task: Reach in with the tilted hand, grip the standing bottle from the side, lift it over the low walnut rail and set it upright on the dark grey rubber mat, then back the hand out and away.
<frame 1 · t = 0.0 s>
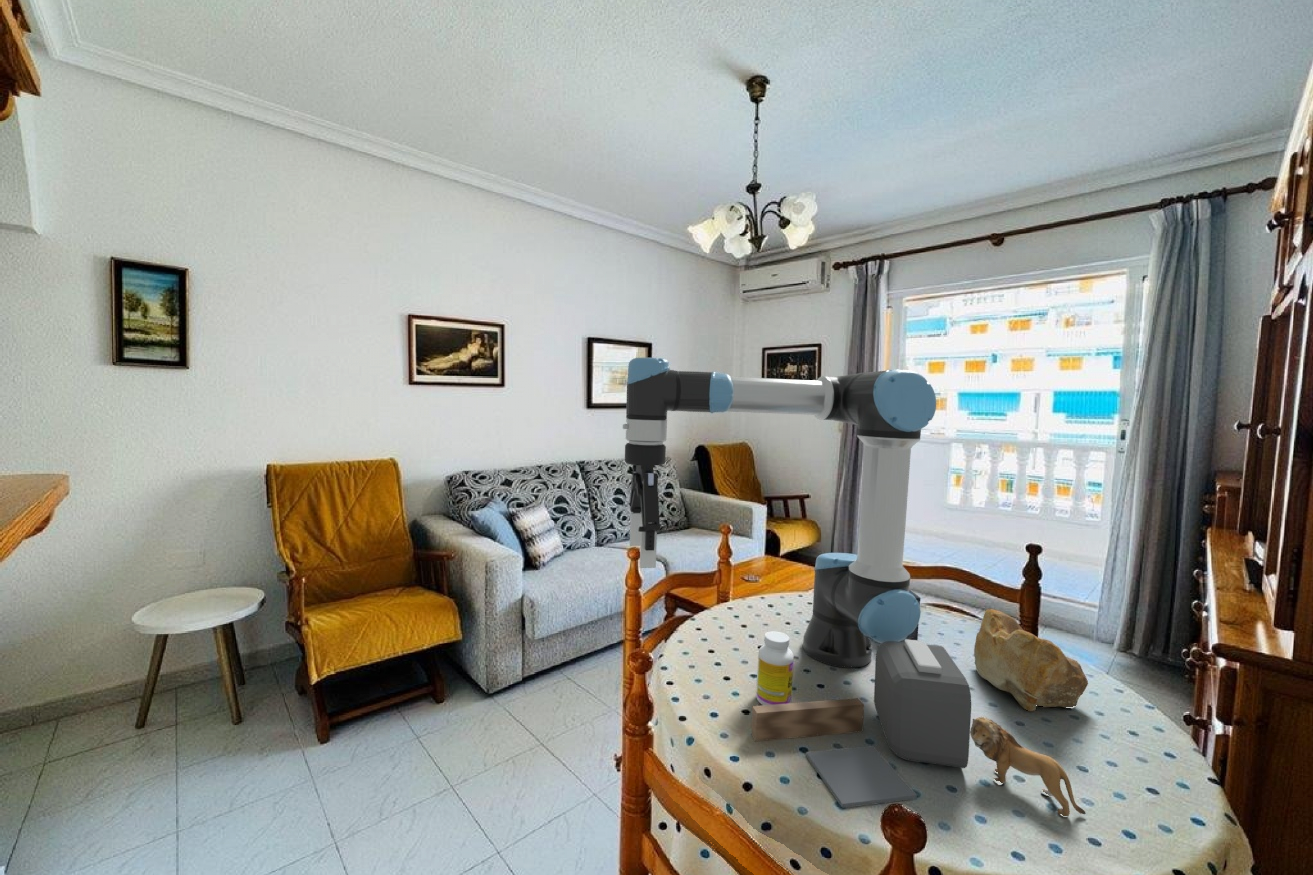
hand: (641, 555, 97), 28 cm above the table, tool pointing down, fingers open, 13 cm apart
small box: (891, 633, 133), on the table
alarm clock: (913, 739, 90), on the table
walnut rail: (807, 732, 91), on the table
rough brown rock: (1032, 696, 105), on the table
rubber mat: (858, 775, 81), on the table
supplement bottle: (773, 701, 100), on the table
lion figurine: (1018, 791, 79), on the table
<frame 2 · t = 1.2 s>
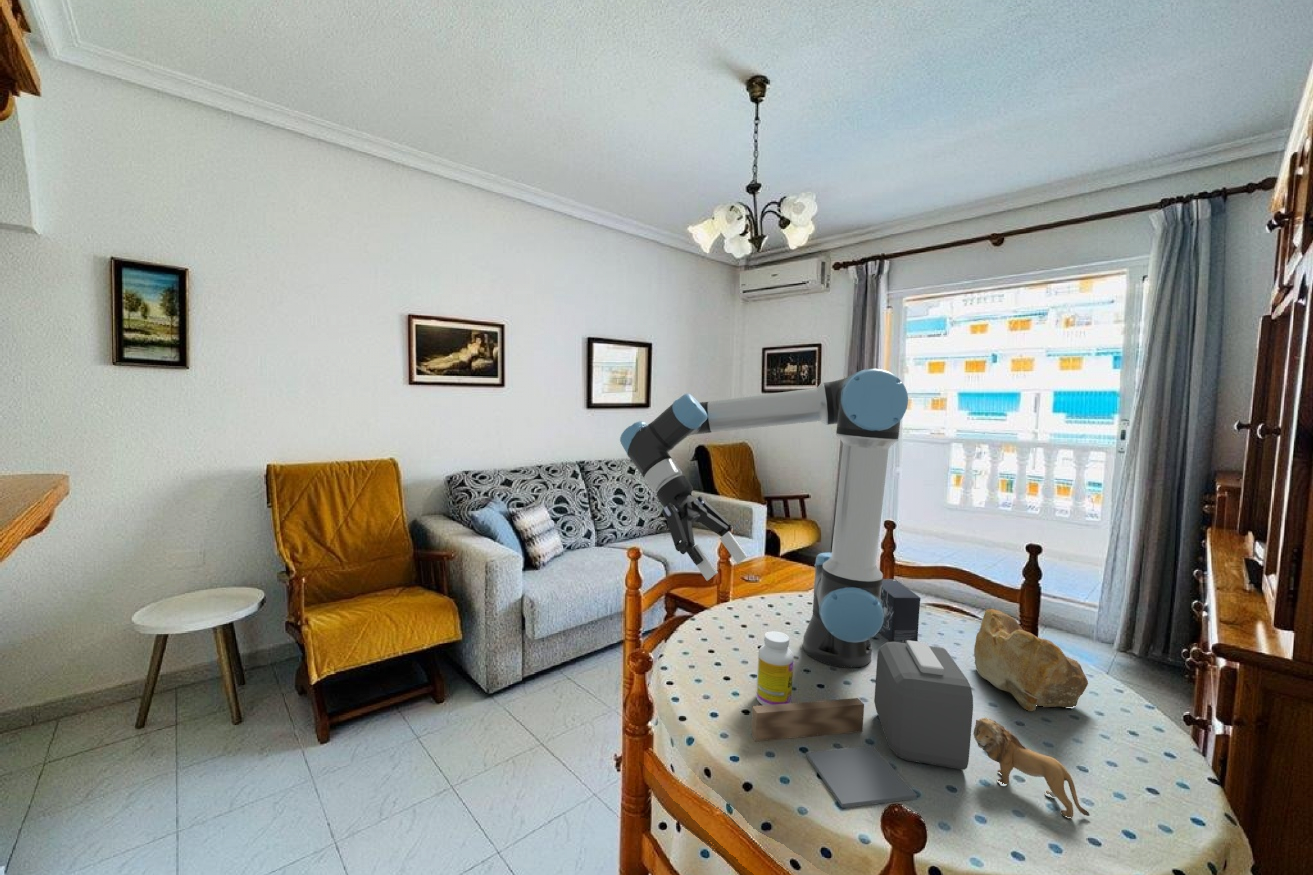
hand: (728, 568, 104), 24 cm above the table, tool tilted 45°, fingers open, 13 cm apart
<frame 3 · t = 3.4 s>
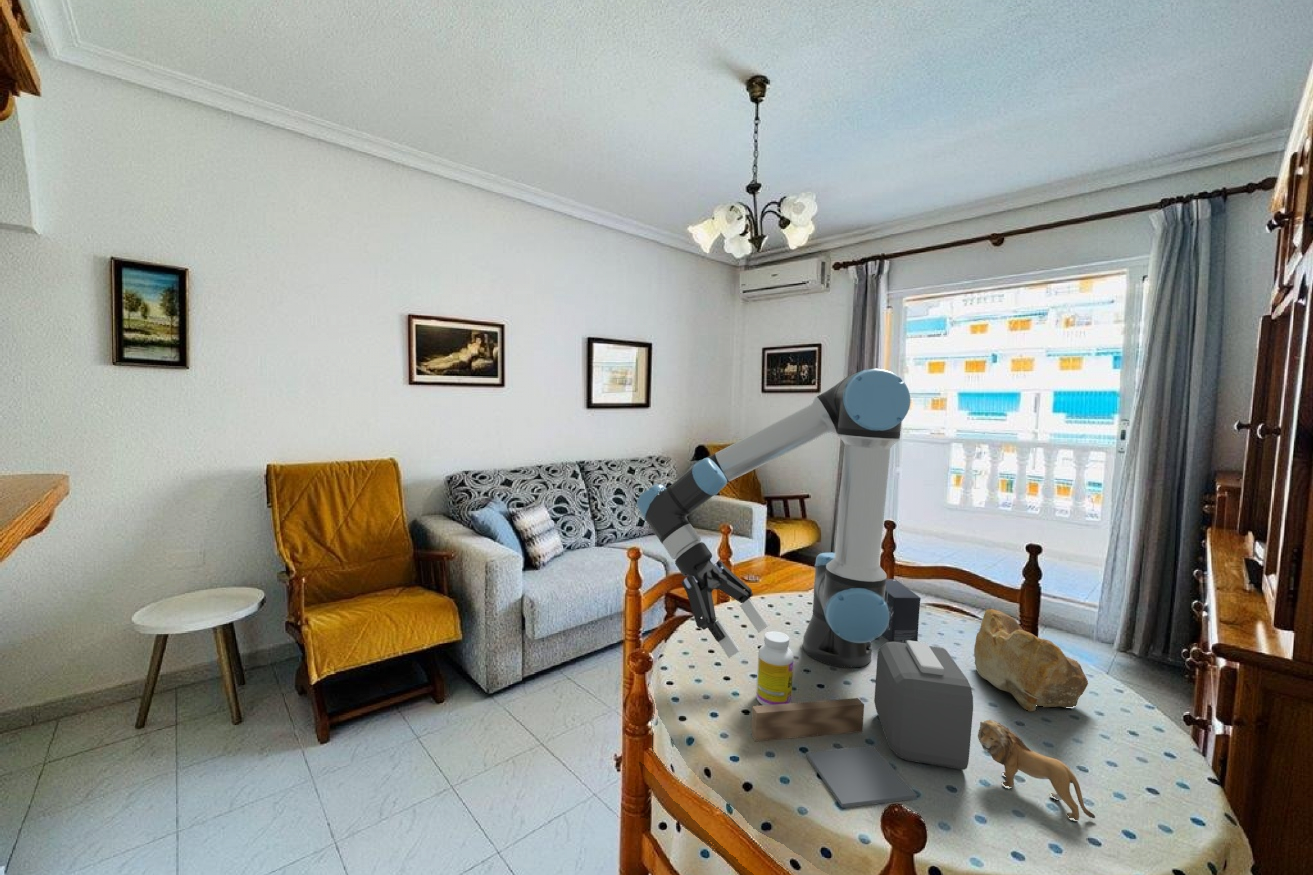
hand: (750, 641, 102), 11 cm above the table, tool tilted 45°, fingers open, 13 cm apart
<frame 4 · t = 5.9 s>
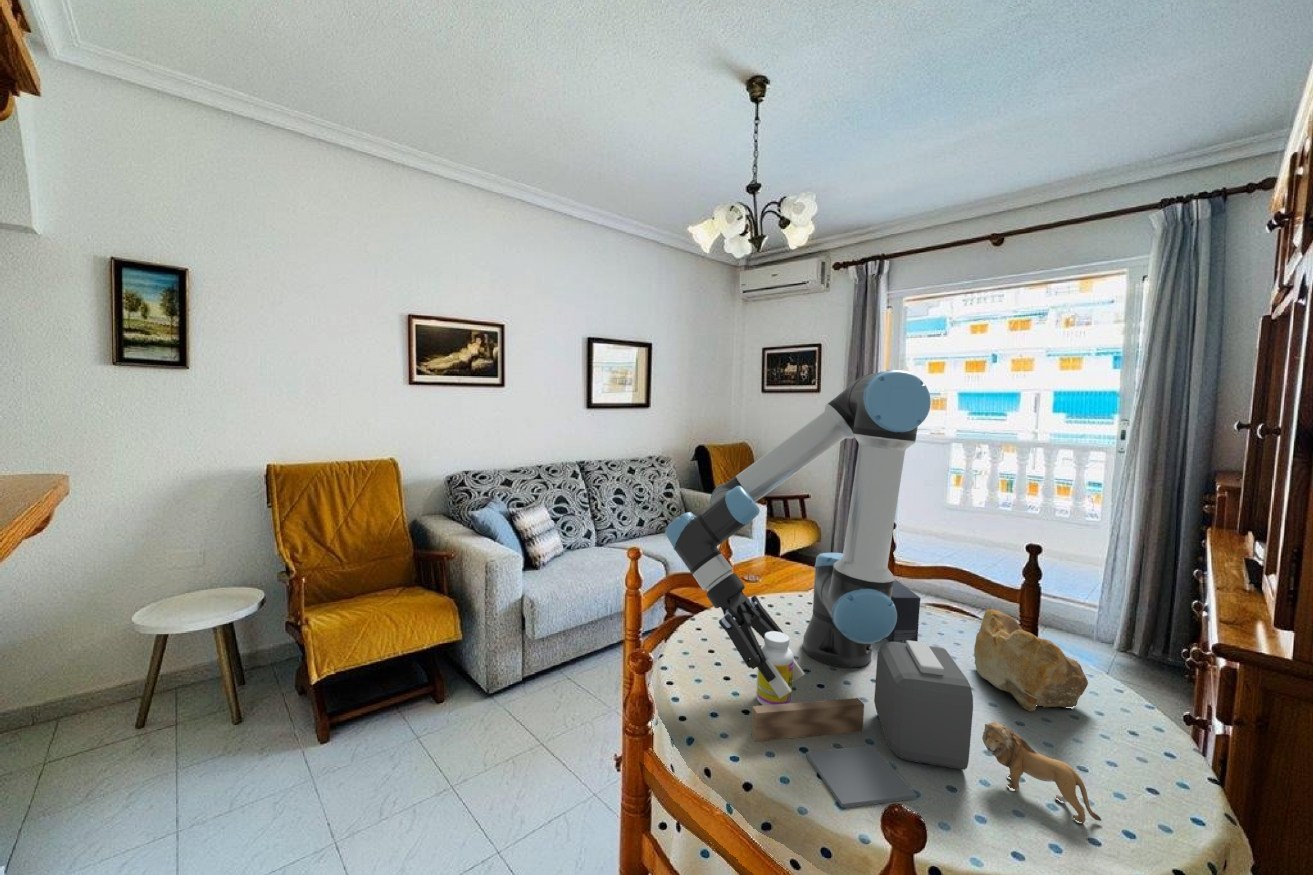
hand: (792, 685, 98), 4 cm above the table, tool tilted 45°, fingers closed on supplement bottle, 7 cm apart
supplement bottle: (773, 701, 100), on the table, touching gripper
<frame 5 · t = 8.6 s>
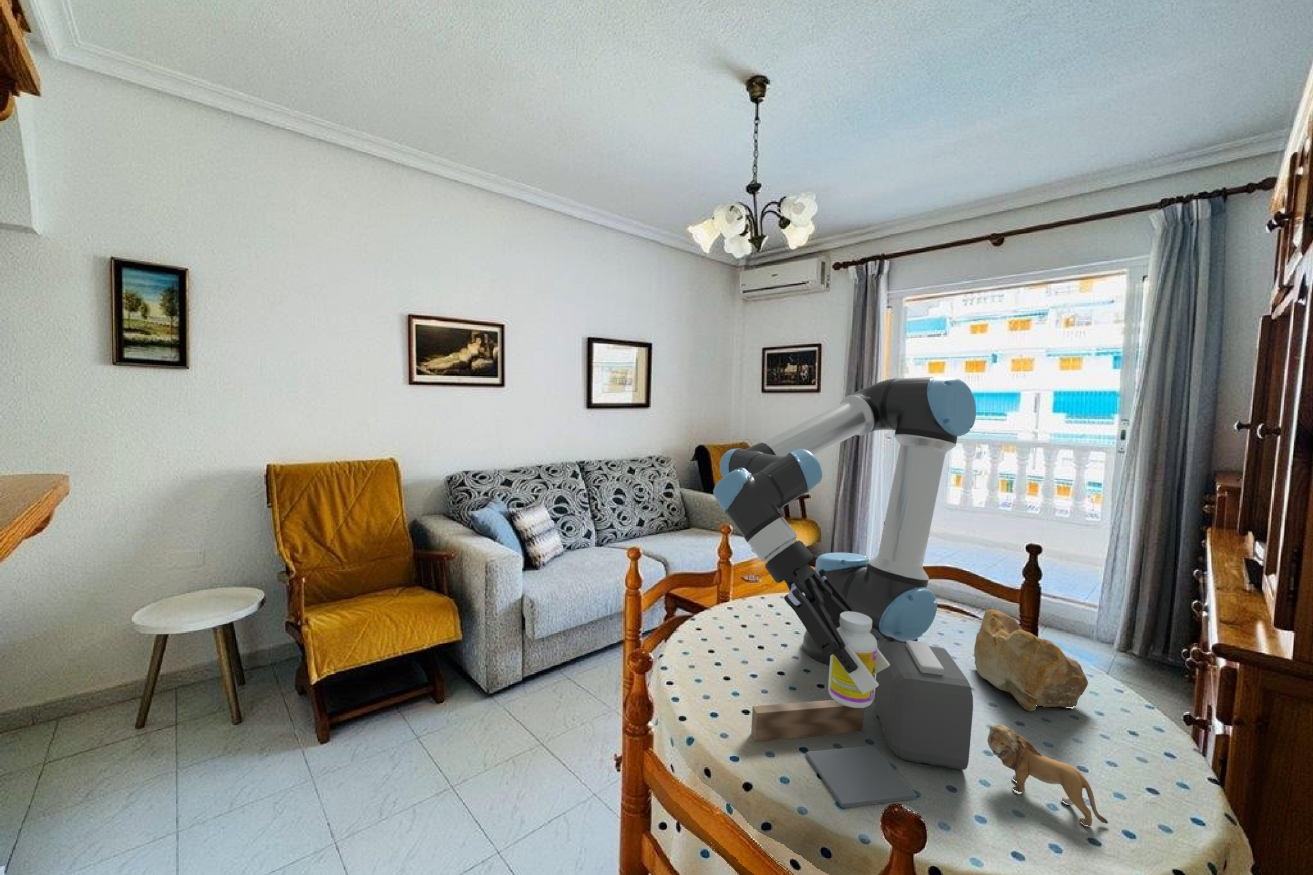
hand: (876, 678, 78), 16 cm above the table, tool tilted 45°, fingers closed on supplement bottle, 7 cm apart
supplement bottle: (849, 698, 81), point 12 cm above the table, touching gripper
when the fingers open (6 cm above the table, at t = 11.5 s): supplement bottle moves 1 cm, resting on rubber mat.
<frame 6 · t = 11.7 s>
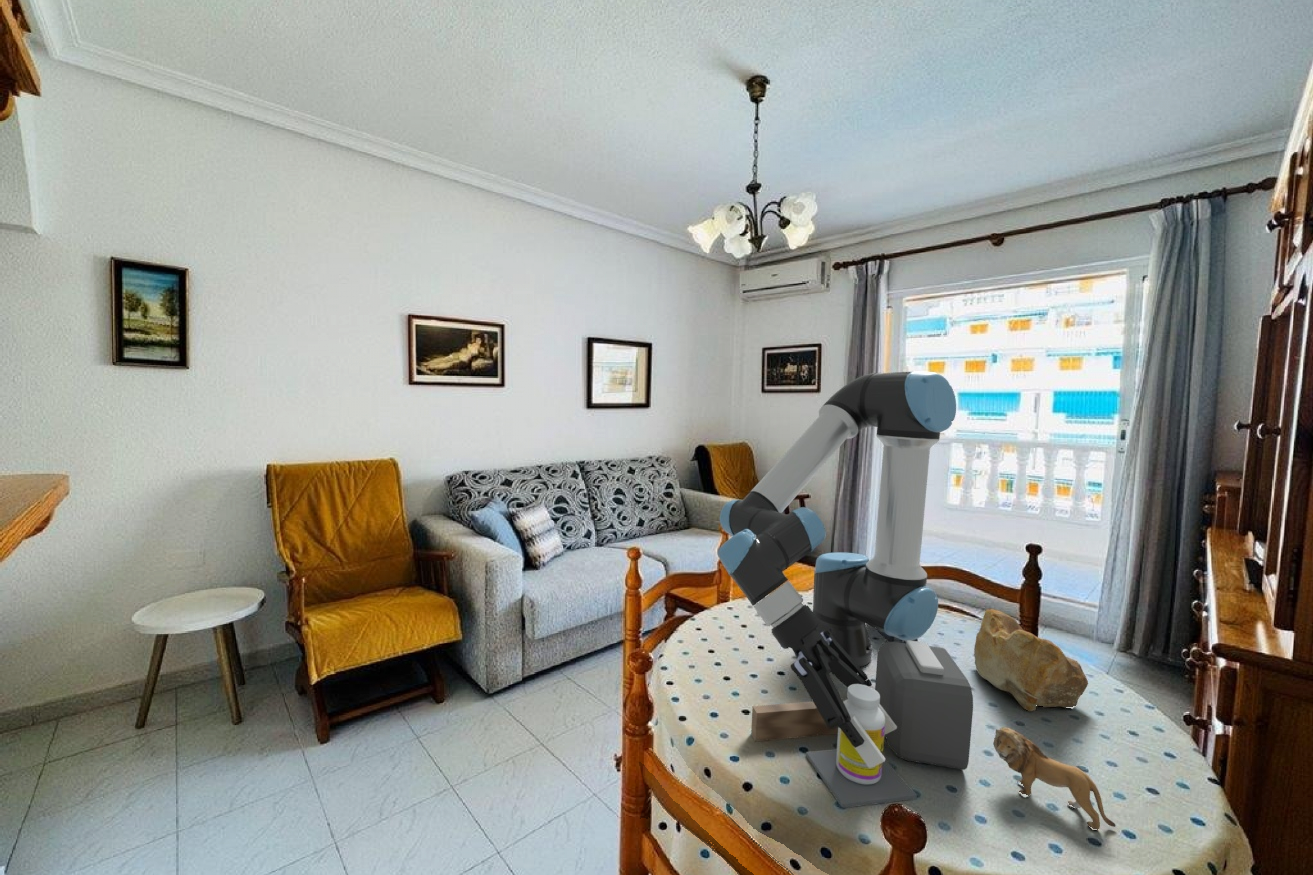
hand: (883, 746, 78), 6 cm above the table, tool tilted 45°, fingers open, 8 cm apart
supplement bottle: (858, 772, 81), resting on rubber mat
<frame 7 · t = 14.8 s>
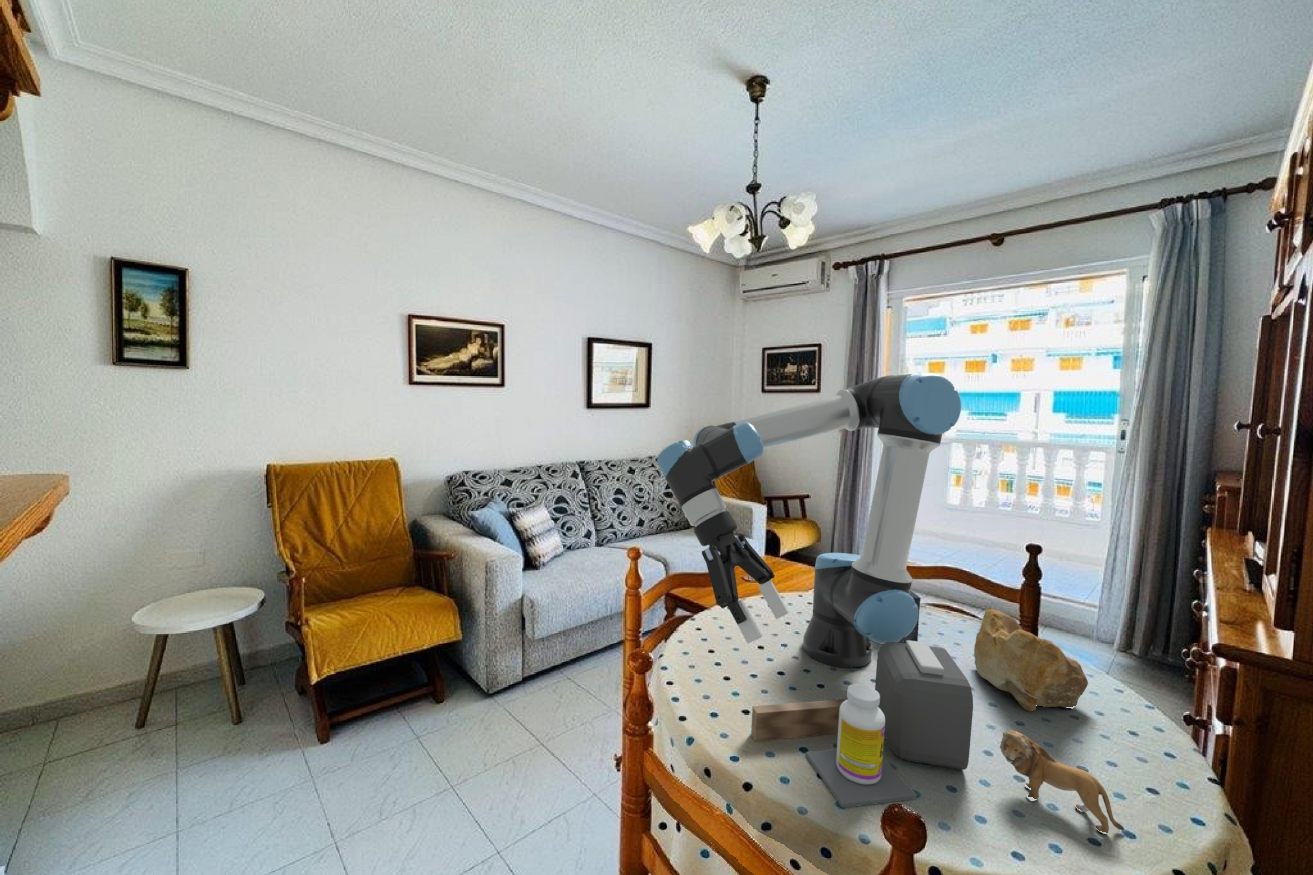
hand: (770, 627, 90), 19 cm above the table, tool tilted 35°, fingers open, 13 cm apart
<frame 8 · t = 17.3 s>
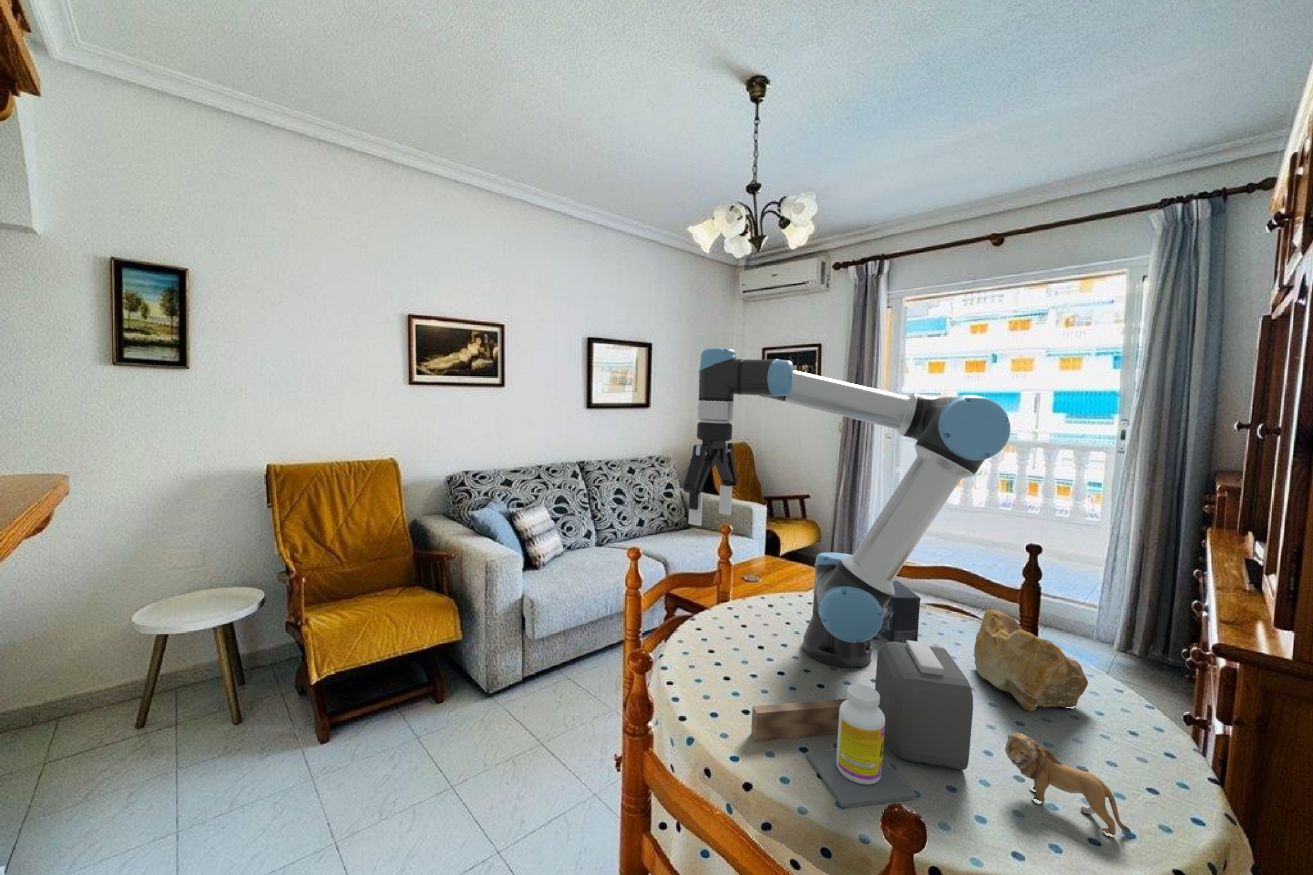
hand: (710, 519, 113), 32 cm above the table, tool pointing down, fingers open, 13 cm apart
at the end: supplement bottle inside the target area (0.2 cm from its centre), resting on rubber mat; supplement bottle tilted 0°; the gripper is holding nothing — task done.
